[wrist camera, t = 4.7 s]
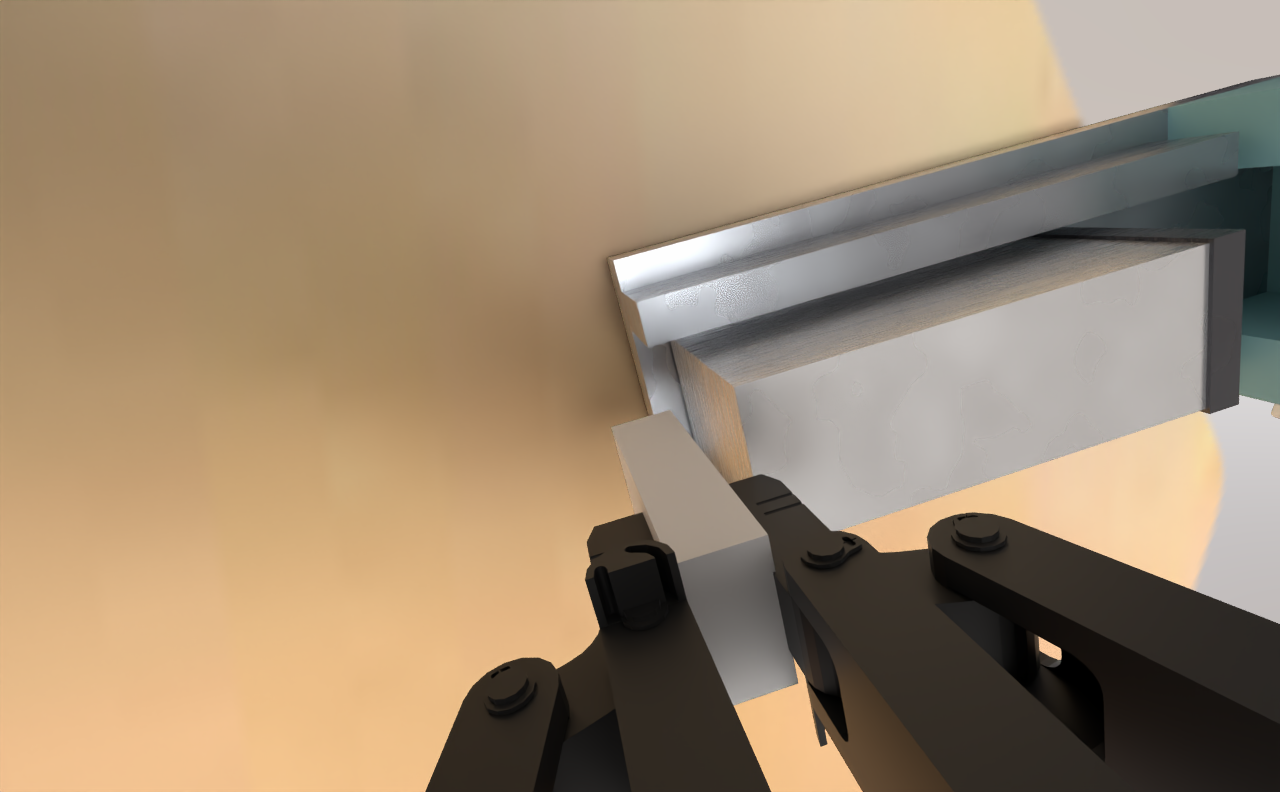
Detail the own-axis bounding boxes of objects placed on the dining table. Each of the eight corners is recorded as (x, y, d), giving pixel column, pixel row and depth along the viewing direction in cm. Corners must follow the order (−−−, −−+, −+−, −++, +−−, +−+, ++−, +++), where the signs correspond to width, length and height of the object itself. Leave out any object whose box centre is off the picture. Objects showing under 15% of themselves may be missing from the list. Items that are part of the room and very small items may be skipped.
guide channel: (606, 258, 19) (627, 266, 16) (1253, 79, 22) (1408, 50, 18) (674, 513, 22) (705, 574, 18) (1243, 331, 24) (1376, 351, 21)
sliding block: (667, 332, 19) (734, 383, 13) (1031, 226, 20) (1246, 229, 14) (698, 460, 20) (772, 559, 14) (1038, 353, 21) (1239, 404, 15)
